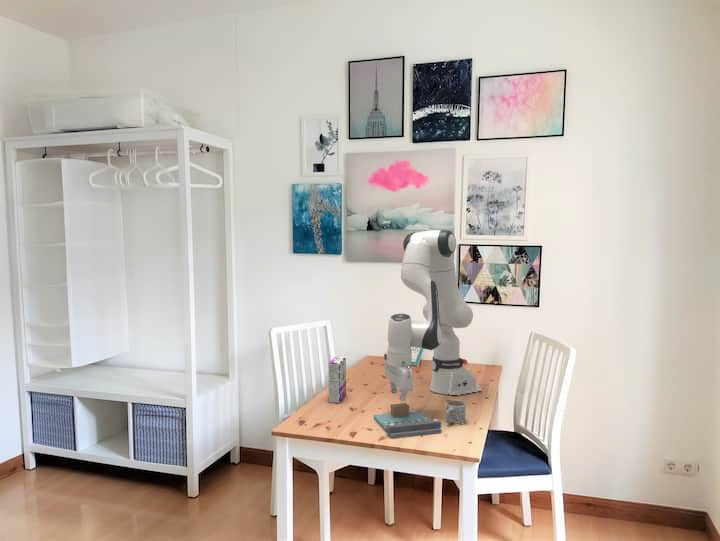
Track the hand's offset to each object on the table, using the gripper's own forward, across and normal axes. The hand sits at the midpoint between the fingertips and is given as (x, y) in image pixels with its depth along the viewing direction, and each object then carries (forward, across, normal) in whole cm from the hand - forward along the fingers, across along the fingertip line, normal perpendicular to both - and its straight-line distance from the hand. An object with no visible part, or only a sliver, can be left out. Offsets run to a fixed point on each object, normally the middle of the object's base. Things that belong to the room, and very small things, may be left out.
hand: (398, 396), depth 195 cm
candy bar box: (+9, +29, +16) cm, 34 cm away
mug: (+8, -8, -18) cm, 22 cm away
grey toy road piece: (+8, -11, -1) cm, 14 cm away
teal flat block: (+8, -1, -1) cm, 9 cm away
